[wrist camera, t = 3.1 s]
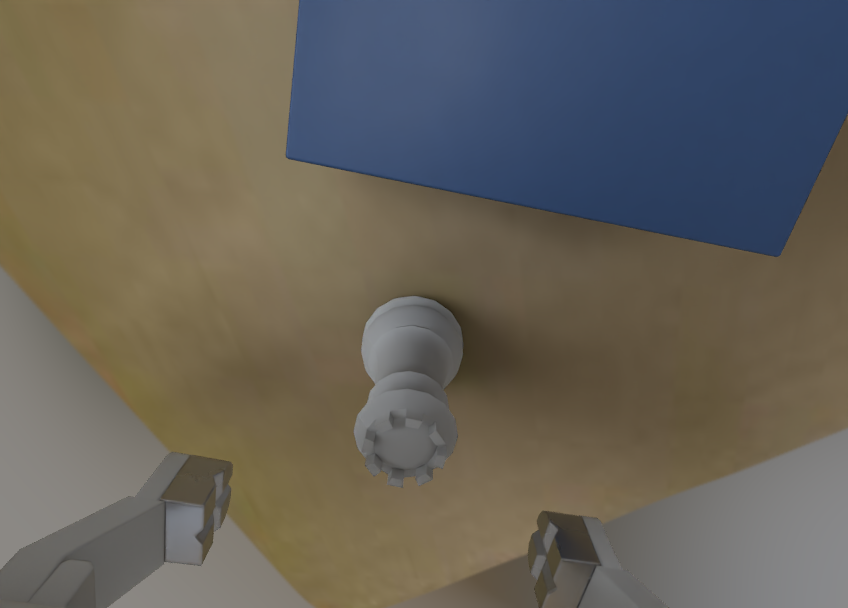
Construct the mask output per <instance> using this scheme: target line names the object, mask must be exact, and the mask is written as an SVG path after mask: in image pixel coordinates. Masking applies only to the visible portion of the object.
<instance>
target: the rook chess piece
mask: <svg viewBox="0 0 848 608" xmlns="http://www.w3.org/2000/svg"><path fill="white" fill-rule="evenodd" d="M462 349H463V339H462V332H461V327H460V325H459V324H458V322H457V321H456V319H455V317H454V316H453V314H452V313H451V312H450V311H449V310H448V309H446V308H445V307H443V306H442V305H440V304H439V303H438V302H436V301H435V300H431V299H426V298H422V297H418V296H409V297H402V298H395V299H393V300H391V301H389V302H388V303H386V304H384V305H382V306H380V307H379V308H377V309H376V311H375V312H374V313H373V315H372V316H371V317H370V319H369V320H368V321H367V323H366V325H365V330H364V334H363V339H362V347H361V352H362V357H363V362H364V366H365V370H366V372H367V373H368V375H369V376H370V377H371V379H372V380H373V381H374V383H375V386H374V387H373V389H372V390H371V391H370V393H369V398H368V402H367V404H366V405H365V406H364V407H363V409H362V410H361V411H360V412H359V414H358V415H357V419H356V424H355V428H354V435H355V439H356V444H357V448H358V449H359V451H360V452H361V453H362V454H363V456H364V457H365V458H366V462H365V466H366V467H367V469H368V470H369V471H370V473H371V474H372V475H373V476H375V475H377V474H378V473H380V472H381V470H382V471H384V472H385V473H387V474H388V482H387V485H391V486H396V487H401V488H403V479H404V477H412V476H416V481H417V483H418V485H419V486H420V485H422V484H424V483H426V482H429V481H431V480H433V469H435V468H437V467H439V468H441V469H443V466H444V463H445V460H446V459H447V458H448V457H449V456H450V455H451V454H452V453H453V450H454V447H455V444H456V441H457V438H458V434H457V427H456V420H455V418H454V417H453V415H452V414H451V412H450V411H449V406H448V399H447V395H446V393H445V392H444V390H443V389H445V387H446V386H447V385H448V384H449V383H450V382H451V381H452V379H453V378H454V377H455V376H456V374H457V372H458V369H459V366H460V363H461V360H462V357H463V351H462Z"/></svg>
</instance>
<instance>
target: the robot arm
mask: <svg viewBox="0 0 848 608" xmlns="http://www.w3.org/2000/svg"><path fill="white" fill-rule="evenodd" d="M232 470H233V464H232V463H231V462H229V461H224V460H218V459H212V458H207V457H201V456H196V455H188V454H182V453H177V452H171V453H169V454H168V455H167V456H166V457H165V458H164V460H163V461H162V462H161V464H160V465H159V466H158V467H157V469H156V470H155V471H154V473H153V474H152V475H151V477H150V478H149V479H148V480H147V482H146V483H145V484H144V486H143V487H142V488H141V490H140V491H139V492H138V494H137V495H136V496H135V497H131V496H128V497H126V498H124V499H122V500H120V501H118V502H116V503H114V504H112V505H110V506H108V507H106V508H104V509H102V510H99V511H97V512H96V513H93V514H91V515H89V516H87V517H85V518H83V519H81V520H79V521H77V522H75V523H73V524H71V525H69V526H67V527H65V528H63V529H61V530H59V531H57V532H55V533H53V534H50V535H49V536H46V537H45V538H42V539H40V540H38V541H36V542H34V543H32V544H30V545H28V546H26V547H24V548H22V549H20V550H19V551H18V552H17V553H16V554H15V555H14V556H13V557H12V558H11V559H10V560H9V562H8V563H7V564H6V565H5V566H4V567H3V568H2V569H1V570H0V608H107V607H108V606H110V605H111V604H112V603H114V602H115V601H116V600H117V599H119V598H120V597H121V596H123V595H124V594H125V593H127V592H128V591H129V590H131V589H132V588H133V587H134V586H136V585H137V584H138V583H140V582H141V581H142V580H143V579H145V578H146V577H148V576H149V575H150V574H151V573H153V572H154V571H155V570H157V569H158V568H159V567H160V566H162V565H163V564H164V562H171V563H181V564H190V565H198V566H201V565H202V563H203V561H204V559H205V557H206V555H207V553H208V551H209V549H210V547H211V545H212V543H213V534H214V533H213V532H214V531H216V530H218V529H219V528H220V527H221V525H222V523H223V521H224V519H225V516H226V513H227V510H228V507H229V502H230V497H231V488H230V486H229V485H228V482H229V480H230V478H231V476H232ZM537 525H538V528H539V530H538V531H536V532H535V533H533V534H532V536H531V539H530V542H529V548H528V563H529V568H530V572H531V574H532V575H533V576H534V577H535V579H536V580H537V583H536V586H535V588H534V590H535V594H536V598H537V602H538V606H539V608H669V607H668V606H667V605H666V604H664V603H663V602H662V601H661V600H660V599H659V598H658V597H657V596H656V595H655V594H653V593H652V592H651V591H650V590H649V589H648V588H647V587H646V586H645V585H644V584H642V583H641V582H640V581H639V580H638V579H637V578H636V577H635V576H634V575H633V574H632V573H630V572H629V571H628V570H623V569H622V567H621V565H620V563H619V560H618V558H617V556H616V554H615V552H614V550H613V547H612V545H611V543H610V541H609V539H608V536H607V534H606V532H605V530H604V528H603V525H602V523H601V521H600V520H599V519H598V518H594V517H587V516H580V515H579V516H577V515H571V514H564V513H557V512H550V511H542V512H541V513H540V514H539V517H538V519H537Z"/></svg>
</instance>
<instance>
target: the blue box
mask: <svg viewBox="0 0 848 608" xmlns="http://www.w3.org/2000/svg"><path fill="white" fill-rule="evenodd" d="M847 114H848V0H299V11H298V22H297V34H296V45H295V56H294V68H293V79H292V90H291V102H290V113H289V124H288V135H287V147H286V158H288V159H291V160H296V161H301V162H306V163H311V164H316V165H321V166H326V167H331V168H336V169H341V170H346V171H351V172H356V173H361V174H366V175H371V176H376V177H381V178H386V179H391V180H396V181H401V182H406V183H411V184H416V185H421V186H426V187H430V188H435V189H440V190H445V191H450V192H455V193H460V194H465V195H470V196H475V197H480V198H485V199H490V200H495V201H500V202H505V203H510V204H515V205H520V206H525V207H530V208H535V209H540V210H545V211H550V212H555V213H560V214H565V215H570V216H575V217H580V218H585V219H590V220H595V221H600V222H605V223H610V224H615V225H620V226H625V227H630V228H635V229H640V230H645V231H650V232H654V233H659V234H664V235H669V236H674V237H679V238H684V239H689V240H694V241H699V242H704V243H709V244H714V245H719V246H724V247H729V248H734V249H739V250H744V251H749V252H754V253H759V254H764V255H769V256H774V257H778V256H780V255H781V253H782V251H783V249H784V246H785V244H786V242H787V240H788V238H789V236H790V234H791V232H792V230H793V228H794V225H795V223H796V221H797V219H798V217H799V215H800V213H801V211H802V209H803V207H804V204H805V202H806V200H807V198H808V196H809V194H810V192H811V190H812V188H813V186H814V183H815V181H816V179H817V177H818V175H819V173H820V171H821V169H822V167H823V165H824V162H825V160H826V158H827V156H828V154H829V152H830V150H831V148H832V146H833V144H834V141H835V139H836V137H837V135H838V133H839V131H840V129H841V127H842V125H843V123H844V121H845V118H846V116H847Z"/></svg>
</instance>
